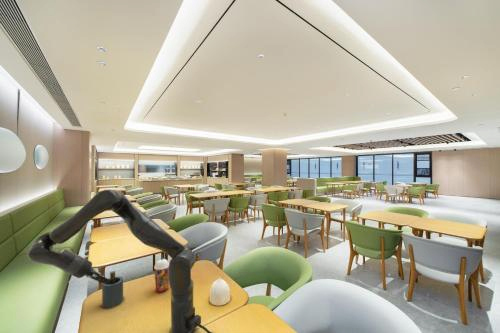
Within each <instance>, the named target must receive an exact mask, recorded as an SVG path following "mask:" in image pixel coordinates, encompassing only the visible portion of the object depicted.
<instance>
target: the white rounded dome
mask: <svg viewBox="0 0 500 333" xmlns="http://www.w3.org/2000/svg"><path fill="white" fill-rule="evenodd" d="M230 301H231V289H230V286H229V284H228V282H227V281H226V280H224V279H223V278H221V276H219V277H218V278H217V279H216V280H215V281H213V283H212V284H211V286H210V289H209V303H211V305H213V306H223V305H226V304H228V303H229V302H230Z"/></svg>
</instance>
